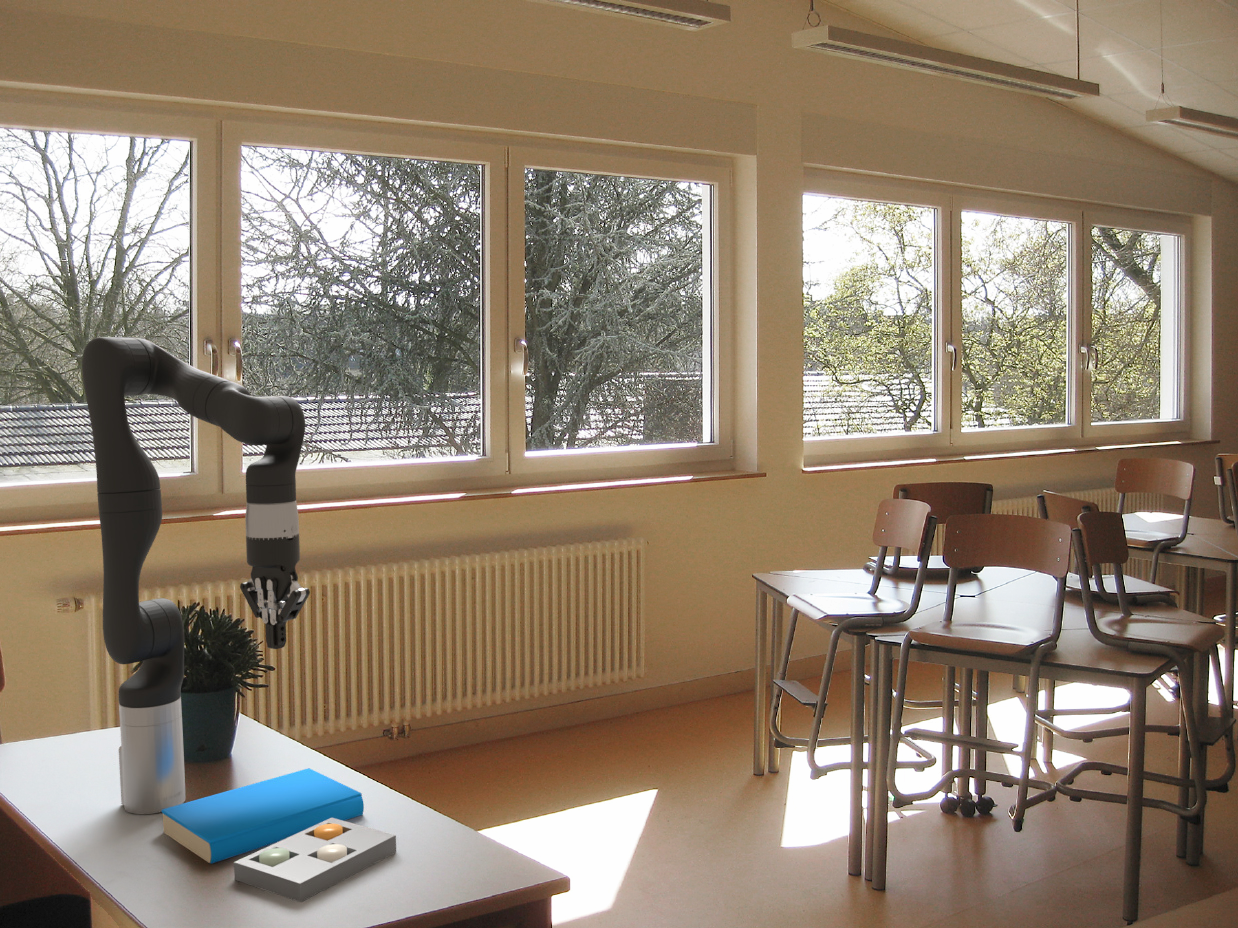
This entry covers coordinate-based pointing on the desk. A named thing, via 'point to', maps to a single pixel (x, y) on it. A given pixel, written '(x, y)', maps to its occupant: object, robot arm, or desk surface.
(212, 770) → the desk surface
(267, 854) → the button sage
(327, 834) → the button orange
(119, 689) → the robot arm
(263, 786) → the book
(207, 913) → the desk surface
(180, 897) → the desk surface
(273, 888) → the panel
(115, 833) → the desk surface
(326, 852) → the button ivory
